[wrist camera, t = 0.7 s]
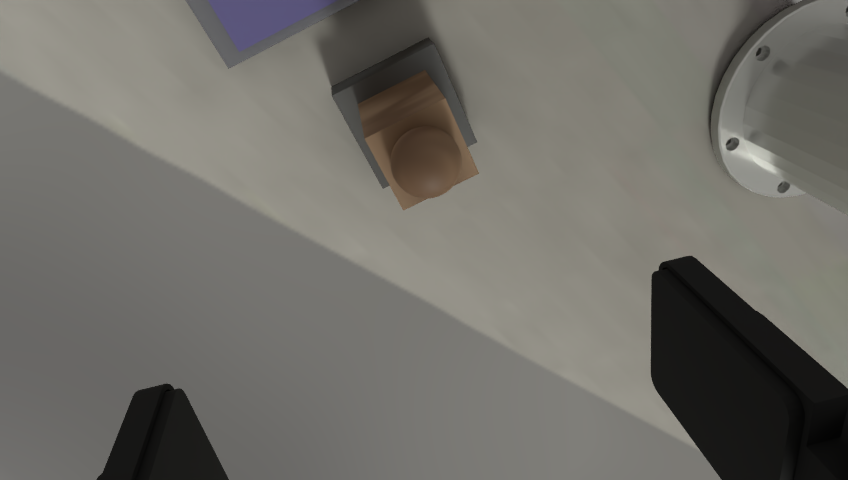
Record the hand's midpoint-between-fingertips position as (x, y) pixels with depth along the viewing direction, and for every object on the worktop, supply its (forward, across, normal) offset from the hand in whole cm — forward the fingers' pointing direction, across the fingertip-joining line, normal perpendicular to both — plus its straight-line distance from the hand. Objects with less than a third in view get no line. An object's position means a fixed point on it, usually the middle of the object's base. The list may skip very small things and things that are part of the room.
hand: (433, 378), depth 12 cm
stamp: (+25, -2, +2) cm, 25 cm away
